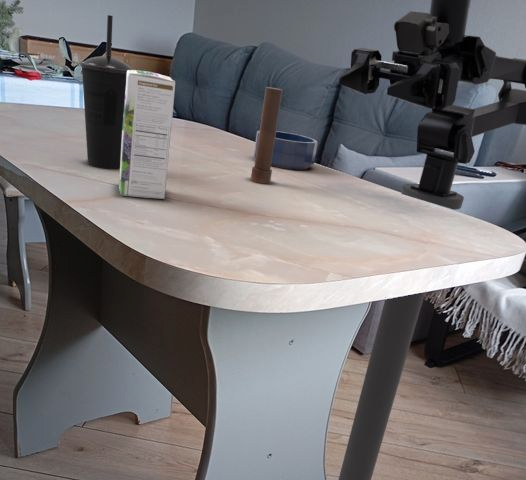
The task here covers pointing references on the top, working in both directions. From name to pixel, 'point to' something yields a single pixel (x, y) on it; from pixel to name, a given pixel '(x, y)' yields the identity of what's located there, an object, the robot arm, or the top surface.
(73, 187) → the top surface
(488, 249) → the top surface
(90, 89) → the drinking cup
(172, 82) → the syrup box
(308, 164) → the bowl
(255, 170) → the rod
